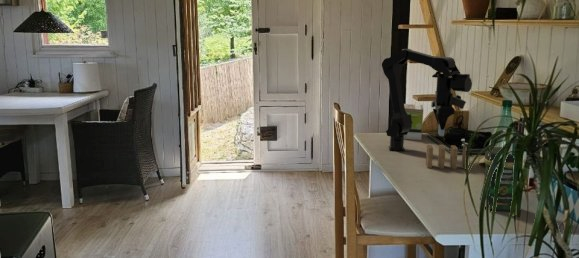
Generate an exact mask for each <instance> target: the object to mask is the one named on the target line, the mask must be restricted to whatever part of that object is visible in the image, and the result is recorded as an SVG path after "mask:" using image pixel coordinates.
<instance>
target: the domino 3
mask: <svg viewBox="0 0 579 258" xmlns="http://www.w3.org/2000/svg"><path fill="white" fill-rule="evenodd" d="M437 155H438V156H437V167H438V168H439V169H442V170H445V160H446V146H445V145H443V144H439V145H438V154H437Z"/></svg>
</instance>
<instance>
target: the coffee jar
mask: <svg viewBox="0 0 579 258" xmlns="http://www.w3.org/2000/svg"><path fill="white" fill-rule="evenodd" d="M493 147H494V149H493V151H492V152H491V159H490V162H489V156H488V150H487V151H486V150H485V153H484V158H483V160H484V164H485V172H484V179H483V183H482V186H481V187H482V188H481V193H480V198H479V201H480V200H481V196H482V192H483V188H484V184H485V181H486V177H487V173H488V170H489V167H490V165H491V163H492V160H493V159H494V157H495V155H496V154H497V152H498V151H499V150H500V149H501V148H502V147H503V146H493ZM513 165H514V158H513V156H512V155H511V154H509V155H508V157H507V159H506V162H505V167H504V172H503V175H502V178H501V182H500V188H499V194H498V200H497V207H496V210H495V211H508V212H509V210H510V206H511V201H512V181H513ZM496 172H497V169H496V170H495V172H494V174H493V177H492V181H491V187H490V196H489V205H490V208H491V209H492V206H493V198H494V186H495V179H496ZM491 209H490V210H491ZM510 211H511V210H510Z"/></svg>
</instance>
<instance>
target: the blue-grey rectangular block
mask: <svg viewBox="0 0 579 258" xmlns="http://www.w3.org/2000/svg"><path fill="white" fill-rule="evenodd" d="M437 125H438V124H437ZM437 129H438V130H437V135H438V136H439V137H444V136H445V129H446V127H445V128H444V130H441V128H440V125H438V128H437Z"/></svg>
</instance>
